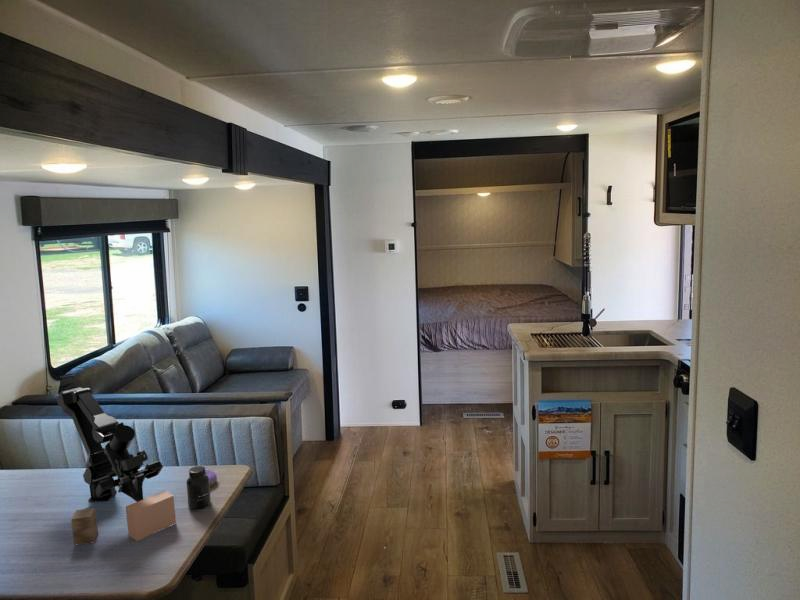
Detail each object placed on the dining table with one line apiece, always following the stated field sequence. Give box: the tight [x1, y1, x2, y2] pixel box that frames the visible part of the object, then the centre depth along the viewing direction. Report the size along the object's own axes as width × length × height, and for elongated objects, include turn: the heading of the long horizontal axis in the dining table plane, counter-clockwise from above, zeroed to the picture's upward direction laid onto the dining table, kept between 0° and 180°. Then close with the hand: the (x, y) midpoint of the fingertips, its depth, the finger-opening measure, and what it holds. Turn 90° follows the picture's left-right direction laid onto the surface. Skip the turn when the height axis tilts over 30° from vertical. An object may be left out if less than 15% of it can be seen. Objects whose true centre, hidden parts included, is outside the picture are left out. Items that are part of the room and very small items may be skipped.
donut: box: [205, 469, 218, 488], centre depth 208 cm, size 10×9×5 cm
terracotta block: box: [125, 490, 177, 542], centre depth 180 cm, size 5×12×9 cm, turn 139°
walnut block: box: [71, 507, 99, 545], centre depth 176 cm, size 5×5×8 cm
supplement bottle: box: [185, 465, 212, 511], centre depth 193 cm, size 7×7×12 cm
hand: (141, 502), depth 182 cm, fingers closed
